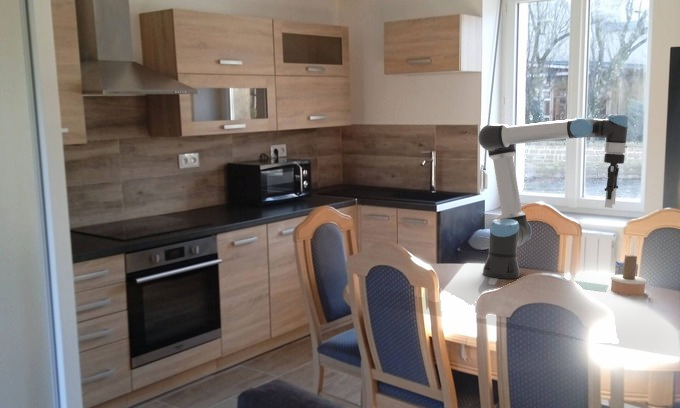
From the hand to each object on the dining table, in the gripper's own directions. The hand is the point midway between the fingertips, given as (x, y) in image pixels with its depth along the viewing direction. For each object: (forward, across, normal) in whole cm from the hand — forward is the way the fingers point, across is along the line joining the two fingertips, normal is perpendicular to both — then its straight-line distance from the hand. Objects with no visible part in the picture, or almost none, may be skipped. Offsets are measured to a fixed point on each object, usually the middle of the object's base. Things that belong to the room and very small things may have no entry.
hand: (609, 205), depth 281 cm
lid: (+28, -9, -10) cm, 31 cm away
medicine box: (+33, +10, -8) cm, 35 cm away
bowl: (+33, -9, -10) cm, 35 cm away
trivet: (+33, -9, +4) cm, 34 cm away
